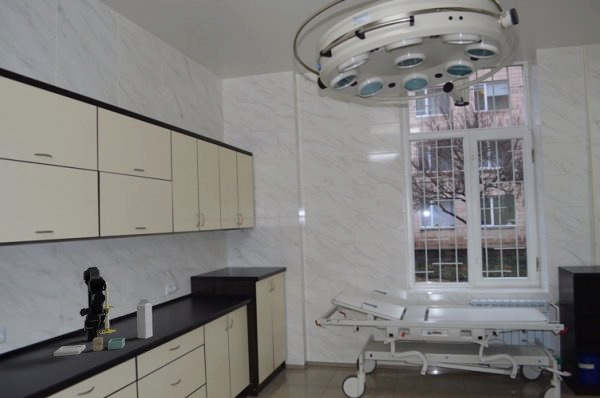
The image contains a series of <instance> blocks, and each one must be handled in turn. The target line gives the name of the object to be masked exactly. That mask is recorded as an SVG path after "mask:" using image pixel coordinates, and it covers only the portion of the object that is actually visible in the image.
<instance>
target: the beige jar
mask: <svg viewBox="0 0 600 398" xmlns="http://www.w3.org/2000/svg"><path fill="white" fill-rule="evenodd" d="M98 337H99V338H94V339H93V341H92V351H93V352H97V351H98V352H99V351H102V350H104V337H102V336H101V337H100V336H98Z"/></svg>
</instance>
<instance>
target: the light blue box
mask: <svg viewBox="0 0 600 398" xmlns="http://www.w3.org/2000/svg"><path fill="white" fill-rule="evenodd" d="M124 346H126V337H120V338H111V339H110V340H108V341H107V350H109V351H111V350H119V349H120V350H121V349H123V348H124Z"/></svg>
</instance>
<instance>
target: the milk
mask: <svg viewBox="0 0 600 398" xmlns="http://www.w3.org/2000/svg"><path fill="white" fill-rule="evenodd" d="M152 306H153V305H152V303H151V302H149V299H145V298H144V299H143V298H140V299H139V302H138V303H137V304H136V326H137V327H136V329H137V339H144V340H145V339H149V338H151V337H153V307H152Z"/></svg>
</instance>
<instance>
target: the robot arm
mask: <svg viewBox="0 0 600 398" xmlns="http://www.w3.org/2000/svg"><path fill="white" fill-rule="evenodd" d="M82 275H83V276H82V277H83V278H82V279H83V281H84V284H85V285H86V286H87V307H84V308H81V309H80V310H79V315H80V316H81V317H82V318H83V317H84V321H83V330H84V331H85V332H86V339H85V341H84V342H93V339H94V338H99V337H100V336H99V332H98V330H101V329H103V328H102V327H103V326H104V325H103V324H105V318H106V316H107V309H103V307H104V305H105V295H104V291H106V288H107V287H106V281H107V280H105V279H104V277H103V276H101V273H100V269H99V268H98V266H91V267H90V266H89V267H87V269H86V270H84V271H83V274H82Z"/></svg>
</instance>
